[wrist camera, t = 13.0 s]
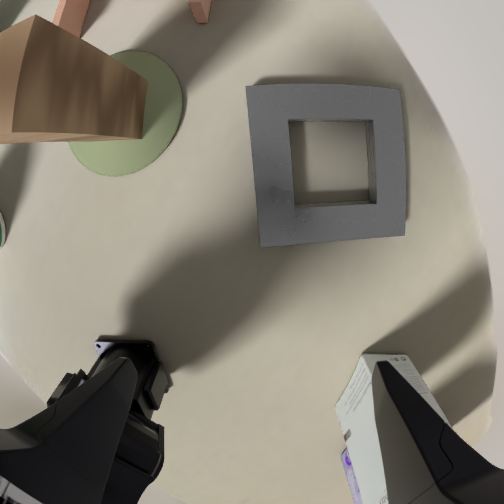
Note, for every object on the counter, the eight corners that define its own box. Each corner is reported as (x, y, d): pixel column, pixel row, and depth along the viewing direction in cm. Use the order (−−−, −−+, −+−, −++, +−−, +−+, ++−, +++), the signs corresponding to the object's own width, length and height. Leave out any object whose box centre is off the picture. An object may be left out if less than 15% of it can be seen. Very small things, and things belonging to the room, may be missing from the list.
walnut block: (141, 139, 18) (11, 132, 6) (90, 141, 18) (-46, 149, 6) (148, 80, 17) (35, 14, 5) (95, 86, 17) (-30, 50, 5)
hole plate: (259, 241, 21) (260, 247, 20) (246, 91, 18) (245, 86, 16) (396, 230, 21) (404, 235, 20) (390, 92, 18) (399, 89, 16)
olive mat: (74, 186, 20) (71, 187, 19) (67, 74, 17) (64, 73, 16) (188, 164, 20) (187, 164, 19) (178, 39, 16) (177, 37, 16)
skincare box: (360, 351, 25) (419, 482, 11) (409, 352, 25) (476, 460, 11) (332, 408, 28) (362, 524, 13) (378, 407, 28) (418, 508, 14)
